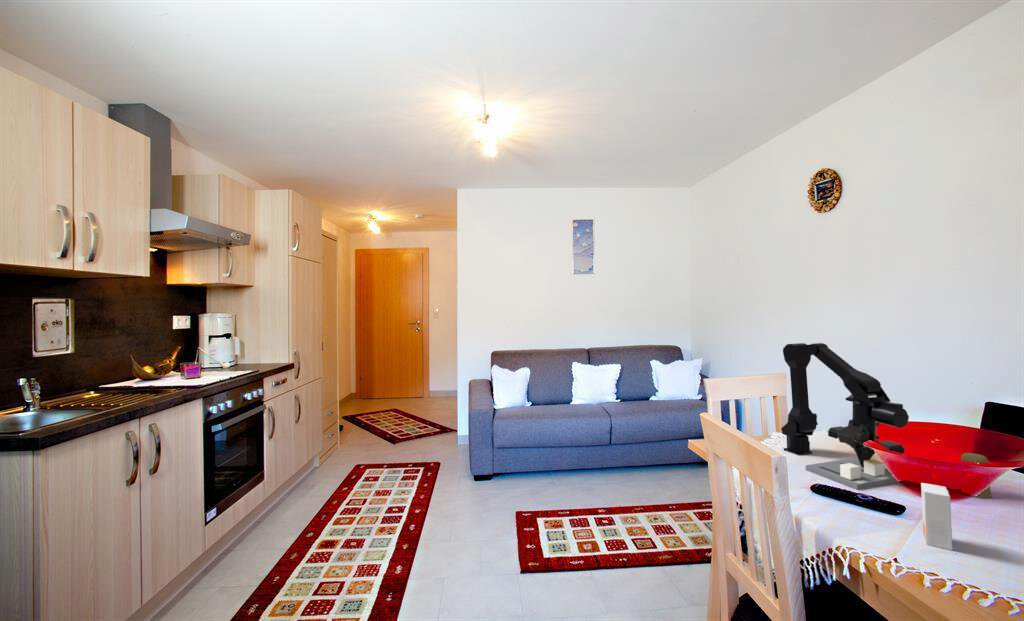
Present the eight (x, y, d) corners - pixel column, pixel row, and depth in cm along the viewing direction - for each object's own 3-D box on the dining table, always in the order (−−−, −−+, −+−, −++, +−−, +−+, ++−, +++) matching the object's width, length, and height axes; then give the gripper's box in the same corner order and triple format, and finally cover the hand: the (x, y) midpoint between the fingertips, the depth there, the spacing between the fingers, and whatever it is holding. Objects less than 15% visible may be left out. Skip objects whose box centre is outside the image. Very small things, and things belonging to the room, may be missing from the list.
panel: (805, 469, 137) (805, 465, 137) (860, 460, 143) (860, 456, 143) (857, 489, 121) (856, 484, 121) (916, 478, 127) (916, 473, 127)
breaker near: (840, 476, 127) (840, 464, 127) (850, 474, 128) (850, 462, 128) (850, 479, 124) (850, 468, 124) (860, 478, 125) (860, 466, 125)
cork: (995, 500, 112) (994, 459, 112) (962, 495, 116) (961, 455, 116) (988, 492, 117) (987, 453, 117) (957, 487, 121) (956, 449, 121)
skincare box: (922, 533, 98) (920, 482, 98) (948, 539, 95) (946, 486, 95) (925, 544, 93) (923, 491, 93) (953, 551, 91) (951, 496, 91)
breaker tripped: (864, 472, 129) (863, 460, 129) (873, 471, 130) (873, 459, 130) (874, 476, 126) (874, 464, 126) (884, 474, 127) (884, 462, 127)
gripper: (815, 412, 137) (814, 459, 138) (878, 430, 119) (877, 483, 120) (841, 409, 140) (840, 455, 141) (906, 426, 122) (905, 478, 123)
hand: (863, 467), depth 131 cm, fingers closed
